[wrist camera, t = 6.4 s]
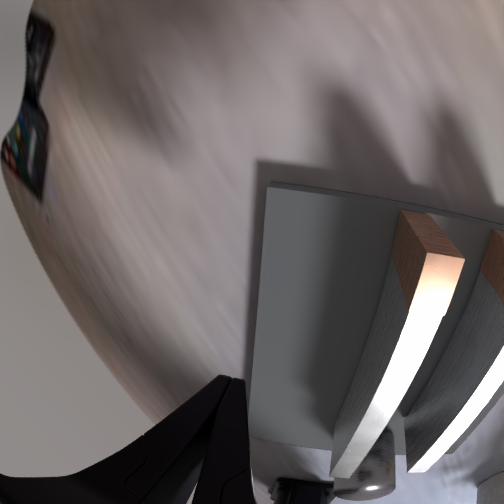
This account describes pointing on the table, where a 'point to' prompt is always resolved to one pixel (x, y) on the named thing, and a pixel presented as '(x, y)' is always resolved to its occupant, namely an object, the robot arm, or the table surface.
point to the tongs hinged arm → (393, 355)
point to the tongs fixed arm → (462, 368)
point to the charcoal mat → (338, 308)
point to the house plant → (491, 490)
